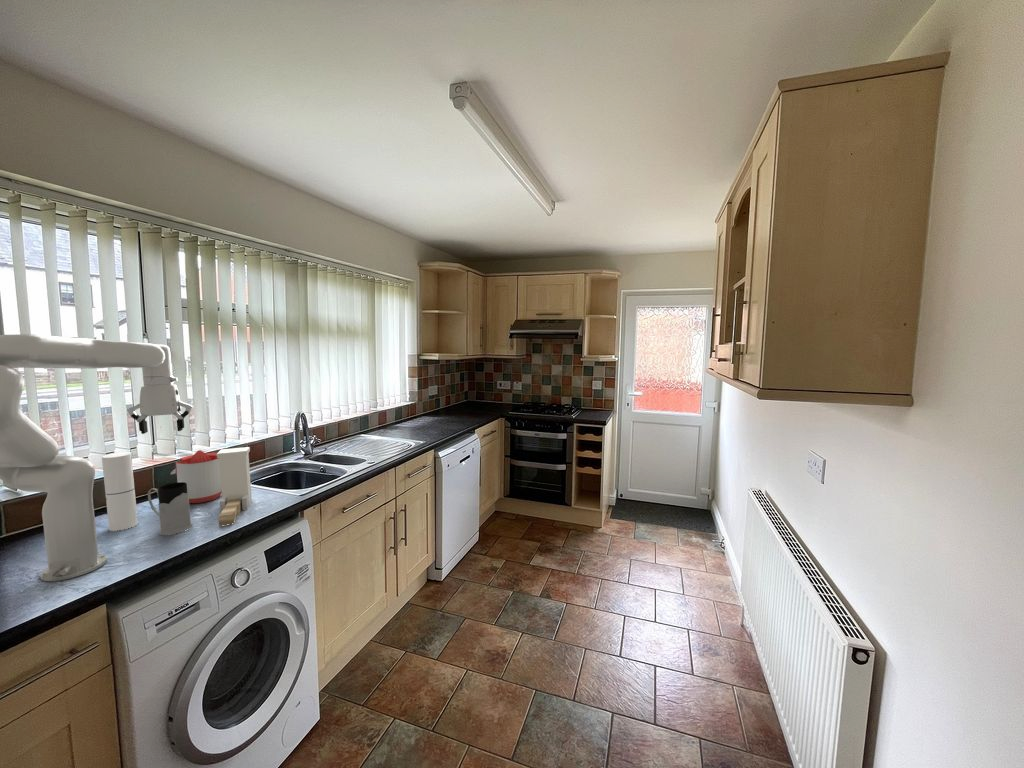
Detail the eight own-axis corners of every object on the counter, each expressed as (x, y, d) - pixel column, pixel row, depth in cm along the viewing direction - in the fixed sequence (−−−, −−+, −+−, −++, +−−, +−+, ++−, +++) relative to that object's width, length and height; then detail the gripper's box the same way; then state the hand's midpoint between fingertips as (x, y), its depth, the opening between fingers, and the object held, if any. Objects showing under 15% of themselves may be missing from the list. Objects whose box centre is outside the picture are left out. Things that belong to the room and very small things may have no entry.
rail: (233, 525, 142) (232, 514, 142) (219, 527, 141) (218, 516, 140) (242, 508, 158) (241, 497, 157) (230, 509, 156) (229, 499, 156)
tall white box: (248, 509, 155) (244, 453, 153) (218, 513, 152) (214, 456, 150) (253, 500, 165) (249, 446, 163) (225, 503, 161) (221, 449, 159)
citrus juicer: (179, 496, 170) (175, 448, 168) (230, 489, 177) (226, 443, 175) (167, 509, 156) (162, 457, 154) (222, 502, 163) (218, 452, 161)
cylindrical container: (120, 532, 137) (112, 458, 135) (103, 530, 139) (95, 457, 136) (143, 523, 144) (136, 452, 142) (127, 521, 146) (120, 451, 143)
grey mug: (174, 536, 134) (170, 491, 133) (138, 533, 136) (133, 488, 135) (199, 524, 143) (195, 482, 141) (164, 522, 145) (160, 480, 144)
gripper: (193, 379, 146) (196, 427, 148) (129, 381, 139) (134, 432, 141) (186, 381, 139) (190, 431, 141) (119, 383, 132) (124, 436, 134)
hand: (162, 431), depth 141 cm, fingers open, 9 cm apart
